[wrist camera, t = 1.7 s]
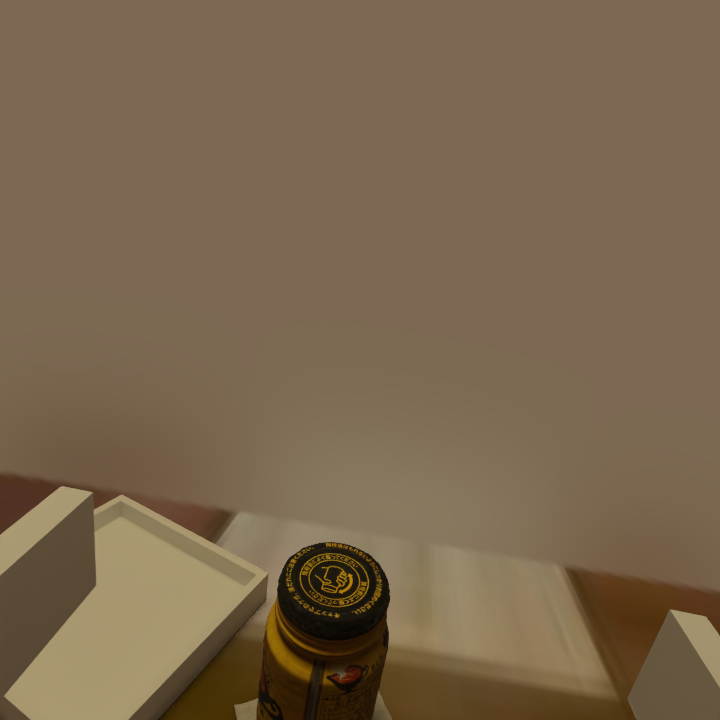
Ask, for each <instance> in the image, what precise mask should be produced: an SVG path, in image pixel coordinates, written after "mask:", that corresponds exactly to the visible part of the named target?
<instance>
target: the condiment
mask: <svg viewBox="0 0 720 720" xmlns="http://www.w3.org/2000/svg"><path fill="white" fill-rule="evenodd" d="M278 582H279V585H278V589H277V592H278V595H277V598H276V602H275V603H274V605H273V606H272V608H271V610H270V612H269V615H268V619H267V623H266V631H265V636H264V640H263V642H264V649H263V660H262V669H261V679H260V682H259V696H258V698H257V699H255V700H252V701H249V702H246V703H243V704H239V705H234V707H235V713H236V717H237V720H392V718H391V716H390V713H389V711H388V710H387V708H386V707H385V704H384V702H383V699H382V697H381V695H380V693H379V691H378V690H379V687H380V681H381V676H382V672H383V668H384V663H385V659H386V654H387V650H388V642H389V632H388V626H387V622H386V619H387V608H388V606H389V605H388V604H389V602H390V595H389V593H390V590H389V583H388V580H387V577H386V575H385V573H384V571H383V570H382V568H381V566H380V565H379V563H378V562H376V561H375V560H374V559H373V558H372V556H371V555H369V554H368V553H365V552H364V551H362V550H360V549H358V548H356V547H353V546H350V545H346V544H341V543H334V542H325V543H318V544H314V545H311V546H308V547H305V548H302V549H301V550H300V551H299V552H297V553H296V554H294V555H293V556H291V557H290V558H289V559H288V561H287V562H286V564H285V566H284V568H283V570H282V573H281V575H280V577H279V580H278Z"/></svg>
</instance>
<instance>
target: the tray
mask: <svg viewBox="0 0 720 720" xmlns="http://www.w3.org/2000/svg"><path fill="white" fill-rule="evenodd" d="M94 535H95V562H96V586H95V588H94V589H93V590H92V591H91V592H90V594H89V595H88V596H87V597H86V598H85V600H84V601H83V602H82V603H81V604H80V606H79V607H78V608H77V609H76V610H75V612H74V613H73V614H72V615H71V616H70V618H69V619H68V620H67V621H66V622H65V624H64V625H63V626H62V627H61V628H60V630H59V631H58V632H57V633H56V634H55V635H54V637H53V638H52V639H51V640H50V641H49V643H48V644H47V645H46V646H45V647H44V649H43V650H42V651H41V652H40V653H39V655H38V656H37V657H36V658H35V659H34V661H33V662H32V663H31V664H30V665H29V667H28V668H27V669H26V670H25V671H24V673H23V674H22V675H21V676H20V677H19V679H18V680H17V681H16V682H15V683H14V685H13V686H12V687H11V688H10V689H9V691H8V692H7V693H6V694H5V695H4V697H3V698H2V699H1V700H0V720H159V719H160V717H161V716H162V715H163V714H164V713H165V712H166V711H167V710H168V709H169V707H170V706H171V705H172V704H173V703H174V702H175V701H176V700H177V698H178V697H179V696H180V695H181V694H182V693H183V692H184V691H185V690H186V688H187V687H188V686H189V685H190V684H191V683H192V682H193V681H194V680H195V678H196V677H197V676H198V675H199V674H200V673H201V672H202V671H203V669H204V668H205V667H206V666H207V665H208V664H209V663H210V662H211V661H212V659H213V658H214V657H215V656H216V655H217V654H218V653H219V652H220V650H221V649H222V648H223V647H224V646H225V645H226V644H227V643H228V642H229V640H230V639H231V638H232V637H233V636H234V635H235V634H236V633H237V632H238V630H239V629H240V628H241V627H242V626H243V625H244V624H245V623H246V621H247V620H248V619H249V618H250V617H251V616H252V615H253V614H254V613H255V611H256V610H257V609H258V608H259V607H260V606H261V605H262V604H263V603H264V601H265V600H266V593H267V584H268V574H269V573H267V572H265V571H264V570H262V569H260V568H258V567H256V566H254V565H252V564H251V563H249V562H247V561H245V560H243V559H241V558H239V557H237V556H236V555H234V554H232V553H230V552H228V551H226V550H224V549H223V548H221V547H219V546H217V545H215V544H213V543H211V542H209V541H208V540H206V539H204V538H202V537H200V536H198V535H196V534H195V533H193V532H191V531H189V530H187V529H185V528H183V527H181V526H180V525H178V524H176V523H174V522H172V521H170V520H168V519H167V518H165V517H163V516H161V515H159V514H157V513H155V512H153V511H152V510H150V509H148V508H146V507H144V506H142V505H140V504H139V503H137V502H135V501H133V500H131V499H129V498H127V497H125V496H124V495H120V496H118V497H116V498H115V499H113V500H111V501H109V502H107V503H106V504H104V505H102V506H100V507H98V508H97V509H95V510H94Z"/></svg>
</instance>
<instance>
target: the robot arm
mask: <svg viewBox="0 0 720 720" xmlns="http://www.w3.org/2000/svg"><path fill="white" fill-rule="evenodd" d="M95 586H96V562H95V535H94V507H93V492H88V491H83V490H78V489H73V488H68V487H64V486H61V487H60V488H59V489H57V490H56V491H55V492H53V493H52V494H51V495H50V496H48V497H47V498H46V499H45V500H43V501H42V502H41V503H40V504H38V505H37V506H36V507H35V508H33V509H32V510H31V511H30V512H28V513H27V514H26V515H25V516H23V517H22V518H21V519H20V520H18V521H17V522H16V523H15V524H13V525H12V526H11V527H10V528H8V529H7V530H6V531H5V532H3V533H2V534H1V535H0V700H1V699H2V698H3V697H4V695H5V694H6V693H7V692H8V691H9V689H10V688H11V687H12V686H13V685H14V683H15V682H16V681H17V680H18V679H19V677H20V676H21V675H22V674H23V673H24V671H25V670H26V669H27V668H28V667H29V665H30V664H31V663H32V662H33V661H34V659H35V658H36V657H37V656H38V655H39V653H40V652H41V651H42V650H43V649H44V647H45V646H46V645H47V644H48V643H49V641H50V640H51V639H52V638H53V637H54V635H55V634H56V633H57V632H58V631H59V630H60V628H61V627H62V626H63V625H64V624H65V622H66V621H67V620H68V619H69V618H70V616H71V615H72V614H73V613H74V612H75V610H76V609H77V608H78V607H79V606H80V604H81V603H82V602H83V601H84V600H85V598H86V597H87V596H88V595H89V594H90V592H91V591H92V590H93V589H94V588H95ZM627 699H628V702H629V704H630V706H631V708H632V711H633V713H634V715H635V718H636V720H720V636H719V634H718V633H717V631H716V630H715V629H714V627H713V626H712V624H711V623H710V622H709V620H708V619H707V617H705V616H700V615H695V614H690V613H685V612H680V611H675V610H669V612H668V615H667V617H666V619H665V621H664V623H663V625H662V627H661V629H660V631H659V633H658V635H657V638H656V640H655V642H654V644H653V646H652V648H651V650H650V652H649V654H648V656H647V658H646V661H645V663H644V665H643V667H642V669H641V671H640V673H639V675H638V677H637V679H636V681H635V684H634V686H633V688H632V690H631V692H630V694H629V696H628V698H627Z"/></svg>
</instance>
